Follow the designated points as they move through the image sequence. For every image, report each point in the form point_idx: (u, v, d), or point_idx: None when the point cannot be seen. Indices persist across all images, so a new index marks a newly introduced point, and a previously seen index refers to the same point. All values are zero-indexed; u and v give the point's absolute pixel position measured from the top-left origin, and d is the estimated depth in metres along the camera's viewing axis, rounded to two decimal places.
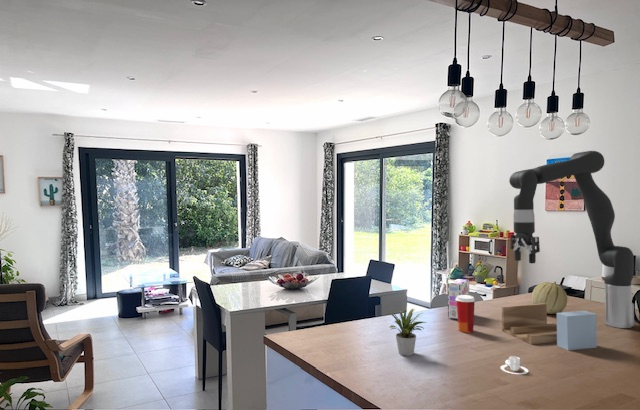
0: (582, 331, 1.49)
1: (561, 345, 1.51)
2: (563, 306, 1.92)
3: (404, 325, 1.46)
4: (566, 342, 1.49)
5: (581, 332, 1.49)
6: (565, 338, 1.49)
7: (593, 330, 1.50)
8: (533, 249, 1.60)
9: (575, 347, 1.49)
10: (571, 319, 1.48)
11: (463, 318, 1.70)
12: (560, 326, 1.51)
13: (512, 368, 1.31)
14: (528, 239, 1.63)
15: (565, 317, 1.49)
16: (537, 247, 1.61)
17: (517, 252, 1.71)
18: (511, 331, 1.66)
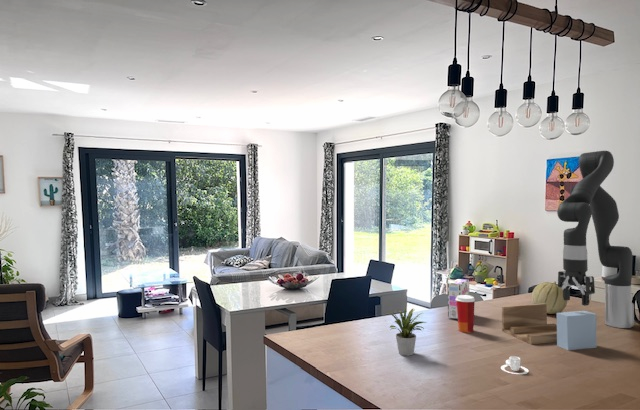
0: (582, 331, 1.49)
1: (561, 345, 1.51)
2: (563, 306, 1.92)
3: (404, 325, 1.46)
4: (566, 342, 1.49)
5: (581, 332, 1.49)
6: (565, 338, 1.49)
7: (593, 330, 1.50)
8: (587, 290, 1.45)
9: (575, 347, 1.49)
10: (571, 319, 1.48)
11: (463, 318, 1.70)
12: (560, 326, 1.51)
13: (512, 368, 1.31)
14: (581, 278, 1.48)
15: (565, 317, 1.49)
16: (592, 288, 1.46)
17: (566, 291, 1.56)
18: (511, 331, 1.66)
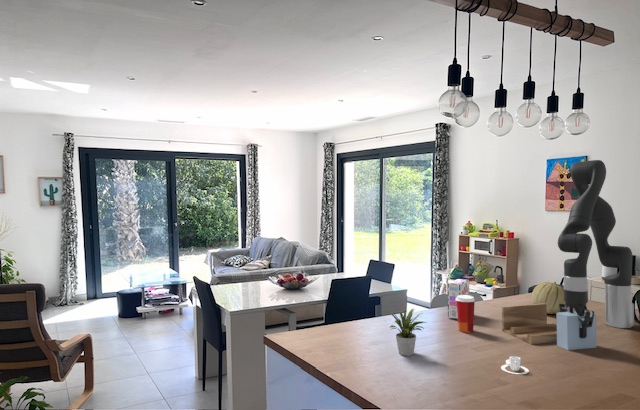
0: None
1: (561, 345, 1.51)
2: None
3: (404, 325, 1.46)
4: (566, 342, 1.49)
5: None
6: (565, 338, 1.49)
7: (593, 330, 1.50)
8: (585, 324, 1.46)
9: (575, 347, 1.49)
10: (571, 319, 1.48)
11: (463, 318, 1.70)
12: (560, 326, 1.51)
13: (512, 368, 1.31)
14: (581, 312, 1.48)
15: (565, 317, 1.49)
16: (590, 322, 1.47)
17: None
18: (511, 331, 1.66)
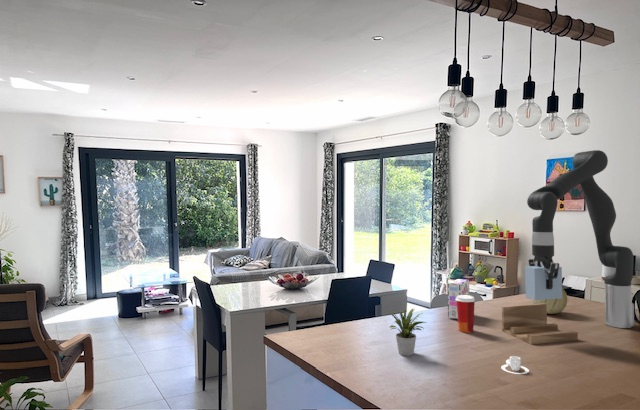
0: None
1: (529, 296, 1.61)
2: (563, 306, 1.92)
3: (404, 325, 1.46)
4: (533, 293, 1.59)
5: None
6: (533, 289, 1.59)
7: (559, 282, 1.61)
8: (550, 275, 1.57)
9: (542, 298, 1.59)
10: (538, 271, 1.59)
11: (463, 318, 1.70)
12: (528, 278, 1.62)
13: (513, 368, 1.31)
14: (548, 265, 1.58)
15: (532, 269, 1.59)
16: (555, 273, 1.57)
17: None
18: (511, 331, 1.66)
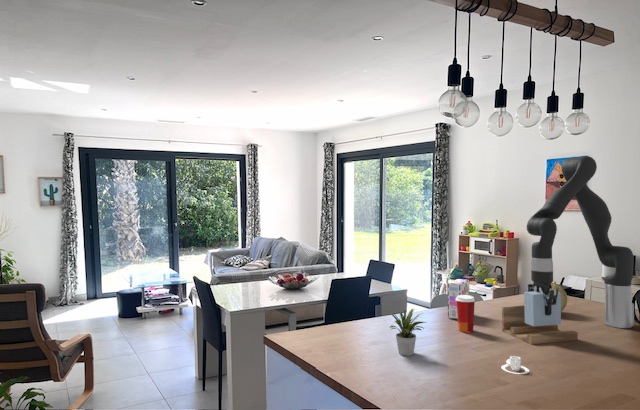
0: None
1: (528, 322, 1.62)
2: (563, 306, 1.92)
3: (404, 325, 1.46)
4: (532, 319, 1.60)
5: None
6: (531, 315, 1.60)
7: (558, 308, 1.61)
8: (549, 301, 1.57)
9: (540, 324, 1.60)
10: (537, 297, 1.59)
11: (463, 318, 1.70)
12: (527, 304, 1.62)
13: (513, 368, 1.31)
14: (547, 291, 1.59)
15: (531, 295, 1.60)
16: (554, 300, 1.58)
17: None
18: (511, 331, 1.66)
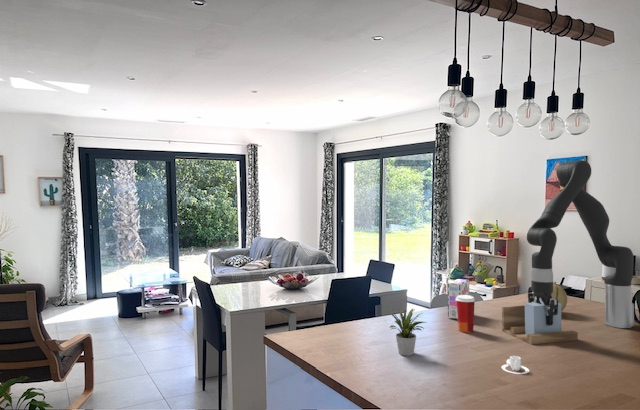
0: None
1: (528, 333, 1.62)
2: (563, 306, 1.92)
3: (404, 325, 1.46)
4: (533, 330, 1.60)
5: None
6: (532, 326, 1.60)
7: (558, 319, 1.61)
8: (551, 312, 1.57)
9: None
10: (537, 308, 1.59)
11: (463, 318, 1.70)
12: (528, 315, 1.62)
13: (513, 368, 1.31)
14: (547, 301, 1.59)
15: (532, 307, 1.60)
16: (555, 310, 1.57)
17: None
18: (511, 331, 1.66)
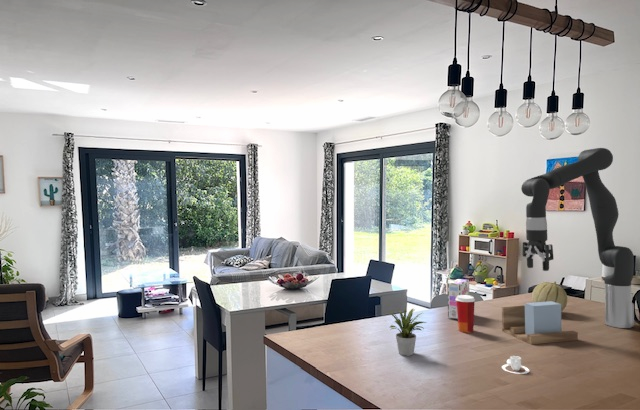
0: (547, 319, 1.60)
1: (528, 333, 1.62)
2: (563, 306, 1.92)
3: (404, 325, 1.46)
4: (533, 330, 1.60)
5: (547, 321, 1.60)
6: (532, 326, 1.60)
7: (558, 319, 1.61)
8: (547, 257, 1.62)
9: None
10: (537, 308, 1.59)
11: (463, 318, 1.70)
12: (528, 315, 1.62)
13: (513, 367, 1.31)
14: (541, 247, 1.64)
15: (532, 307, 1.60)
16: (551, 255, 1.62)
17: (529, 259, 1.72)
18: (511, 331, 1.66)
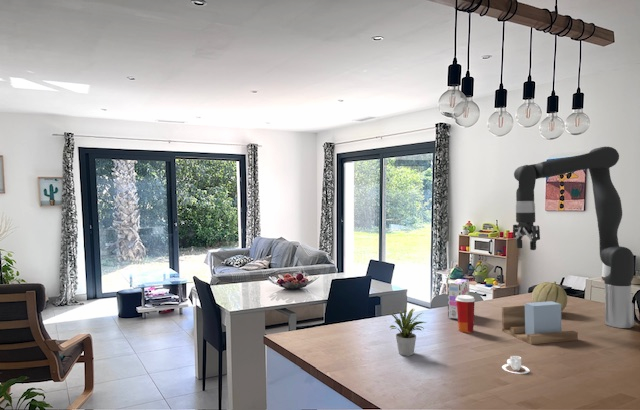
0: (547, 319, 1.60)
1: (528, 333, 1.62)
2: (563, 306, 1.92)
3: (404, 325, 1.46)
4: (533, 330, 1.60)
5: (547, 321, 1.60)
6: (532, 326, 1.60)
7: (558, 319, 1.61)
8: (534, 237, 1.75)
9: None
10: (537, 308, 1.59)
11: (463, 318, 1.70)
12: (528, 315, 1.62)
13: (513, 367, 1.31)
14: (529, 228, 1.78)
15: (532, 307, 1.60)
16: (537, 235, 1.76)
17: (519, 240, 1.86)
18: (511, 331, 1.66)
